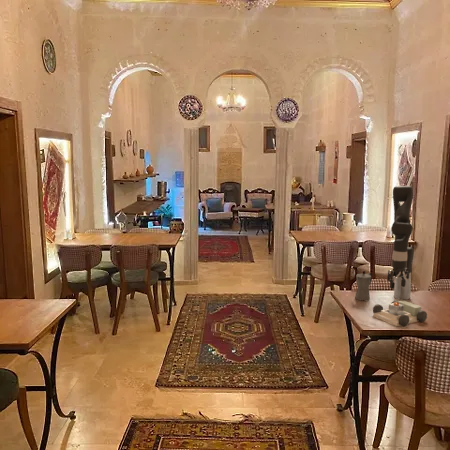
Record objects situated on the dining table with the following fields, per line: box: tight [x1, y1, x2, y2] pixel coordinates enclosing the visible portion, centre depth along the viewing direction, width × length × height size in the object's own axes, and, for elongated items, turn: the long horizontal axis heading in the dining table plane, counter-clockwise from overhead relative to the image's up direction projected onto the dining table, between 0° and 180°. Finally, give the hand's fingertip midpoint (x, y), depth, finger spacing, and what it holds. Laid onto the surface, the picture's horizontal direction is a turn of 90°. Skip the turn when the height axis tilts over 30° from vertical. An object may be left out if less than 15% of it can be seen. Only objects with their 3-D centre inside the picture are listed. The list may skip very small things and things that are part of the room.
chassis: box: [372, 300, 428, 327], centre depth 247 cm, size 22×20×7 cm
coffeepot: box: [354, 270, 373, 301], centre depth 280 cm, size 15×9×18 cm, turn 128°
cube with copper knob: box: [388, 301, 404, 316], centre depth 245 cm, size 6×6×7 cm
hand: (397, 287), depth 243 cm, fingers open, 8 cm apart
